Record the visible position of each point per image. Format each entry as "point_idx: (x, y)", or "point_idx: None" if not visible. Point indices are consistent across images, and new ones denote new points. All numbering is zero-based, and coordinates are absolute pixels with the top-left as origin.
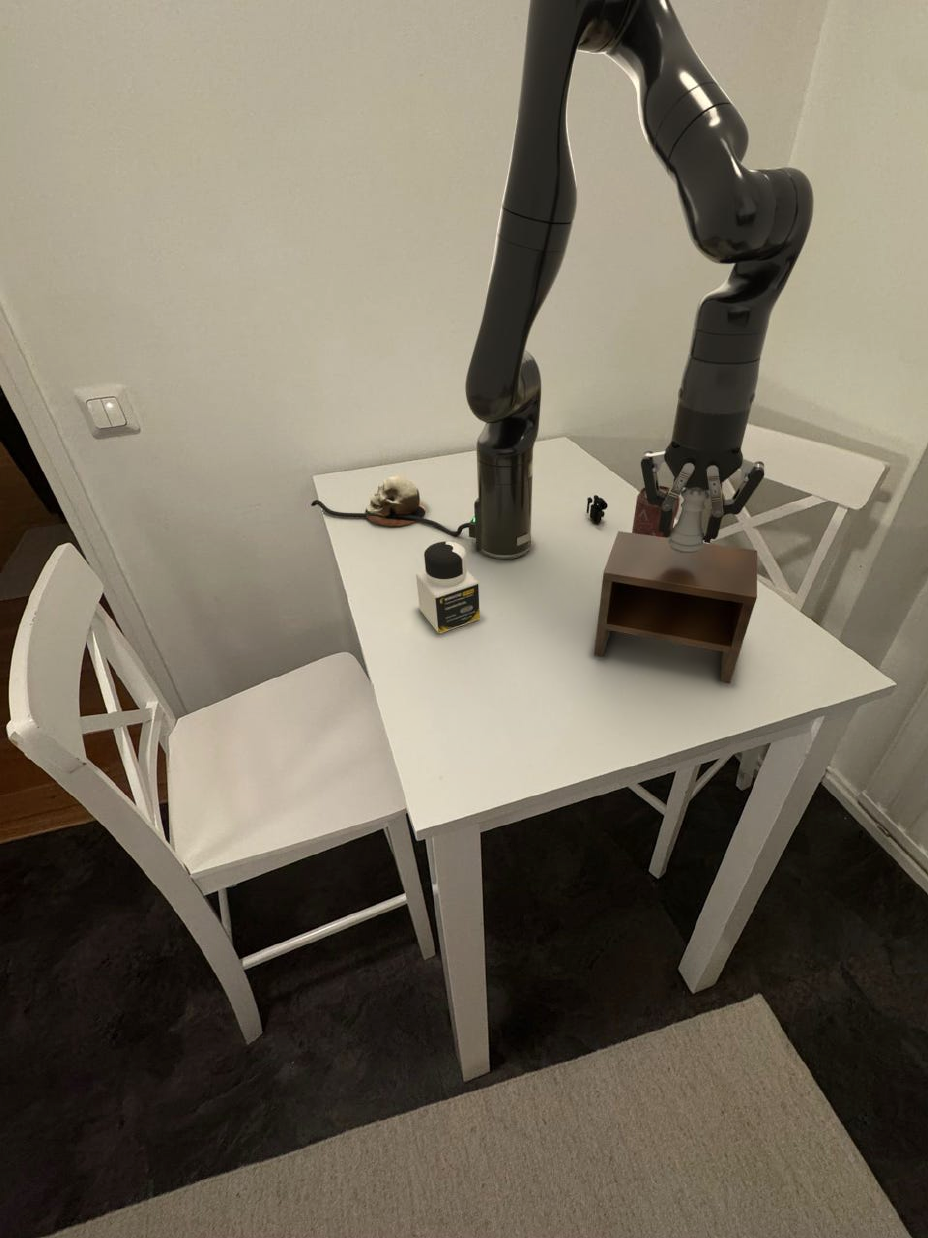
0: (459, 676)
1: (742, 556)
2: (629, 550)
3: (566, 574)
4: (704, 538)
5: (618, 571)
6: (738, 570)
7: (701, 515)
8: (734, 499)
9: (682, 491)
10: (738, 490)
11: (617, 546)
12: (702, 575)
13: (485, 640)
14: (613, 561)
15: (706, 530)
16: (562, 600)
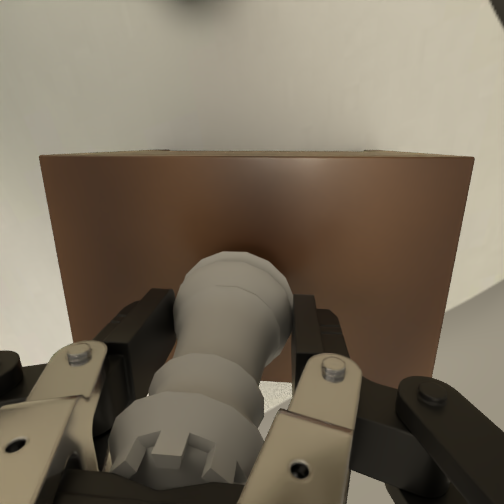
0: (22, 354)
1: (419, 211)
2: (103, 260)
3: (42, 42)
4: (291, 322)
5: None
6: (398, 291)
7: (259, 379)
8: (421, 453)
9: (111, 455)
10: (464, 492)
11: (67, 248)
12: None
13: (12, 282)
14: (82, 322)
15: (292, 351)
16: (71, 142)
